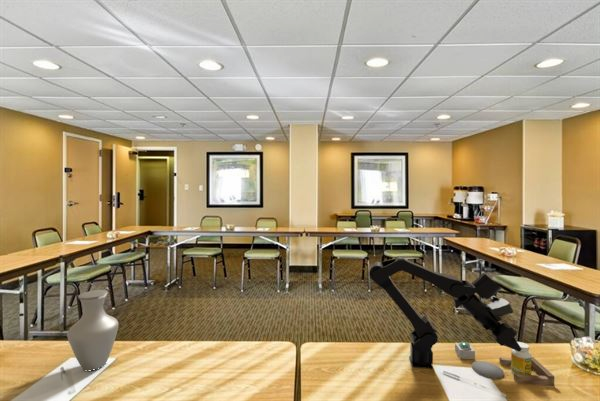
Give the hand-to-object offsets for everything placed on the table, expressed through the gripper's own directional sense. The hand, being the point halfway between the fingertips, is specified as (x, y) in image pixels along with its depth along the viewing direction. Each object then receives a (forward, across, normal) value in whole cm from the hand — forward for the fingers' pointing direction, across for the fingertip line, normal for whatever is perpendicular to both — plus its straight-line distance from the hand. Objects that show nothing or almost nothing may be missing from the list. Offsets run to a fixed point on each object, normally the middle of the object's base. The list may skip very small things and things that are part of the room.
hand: (512, 343), depth 100 cm
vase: (-92, -19, +104) cm, 140 cm away
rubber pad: (+2, 0, +12) cm, 12 cm away
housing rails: (+10, 0, +4) cm, 11 cm away
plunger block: (-1, +9, +15) cm, 18 cm away
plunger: (-2, +9, +15) cm, 17 cm away
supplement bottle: (+9, 0, +5) cm, 10 cm away
